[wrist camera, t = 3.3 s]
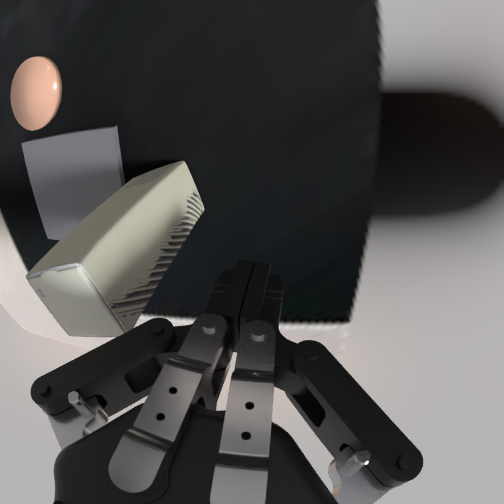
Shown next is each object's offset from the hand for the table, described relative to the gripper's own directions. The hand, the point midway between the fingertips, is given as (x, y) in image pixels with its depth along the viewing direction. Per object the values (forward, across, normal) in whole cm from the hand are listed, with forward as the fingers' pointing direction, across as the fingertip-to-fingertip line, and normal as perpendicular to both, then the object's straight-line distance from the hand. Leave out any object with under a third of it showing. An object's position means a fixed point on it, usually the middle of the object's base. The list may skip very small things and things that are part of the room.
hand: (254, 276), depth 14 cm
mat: (+9, +18, 0) cm, 20 cm away
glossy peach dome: (+9, +21, -10) cm, 25 cm away
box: (+9, +8, 0) cm, 12 cm away
